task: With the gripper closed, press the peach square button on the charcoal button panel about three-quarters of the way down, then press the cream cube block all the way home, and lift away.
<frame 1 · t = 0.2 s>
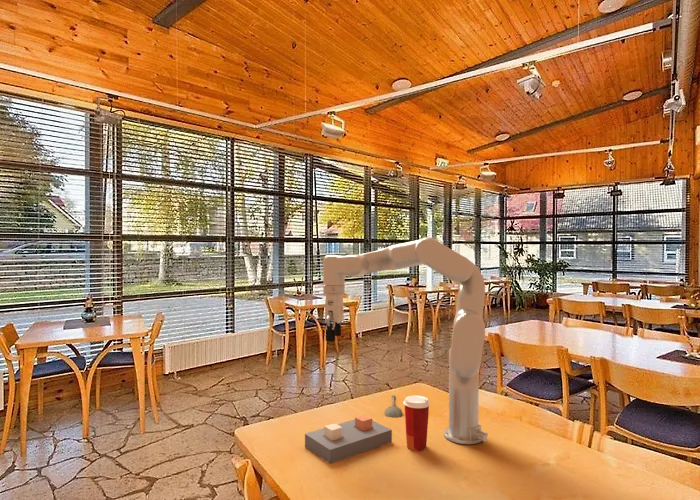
hand: (333, 338, 155), 31 cm above the table, tool pointing down, fingers open, 9 cm apart
button panel: (348, 444, 139), on the table
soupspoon: (393, 409, 173), on the table
peach square button: (363, 424, 143), point 5 cm above the table, slide at 0.0 cm
coffee cup: (416, 447, 138), on the table
cream cube block: (333, 433, 136), point 5 cm above the table, slide at 0.0 cm
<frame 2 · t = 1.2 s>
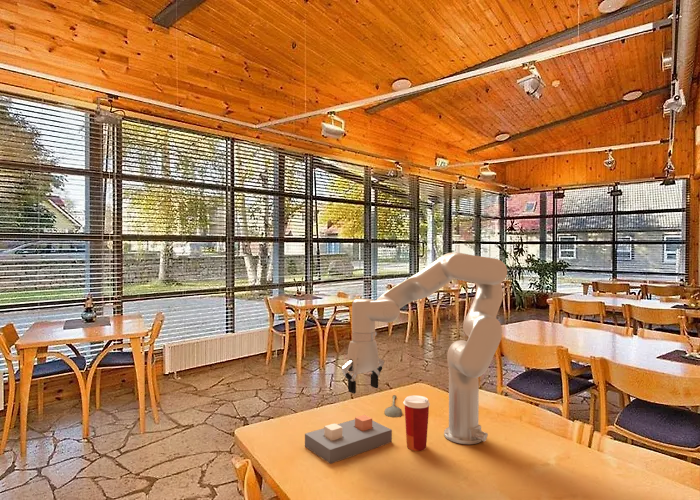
hand: (363, 389, 143), 16 cm above the table, tool pointing down, fingers open, 8 cm apart
nothing on the table moved.
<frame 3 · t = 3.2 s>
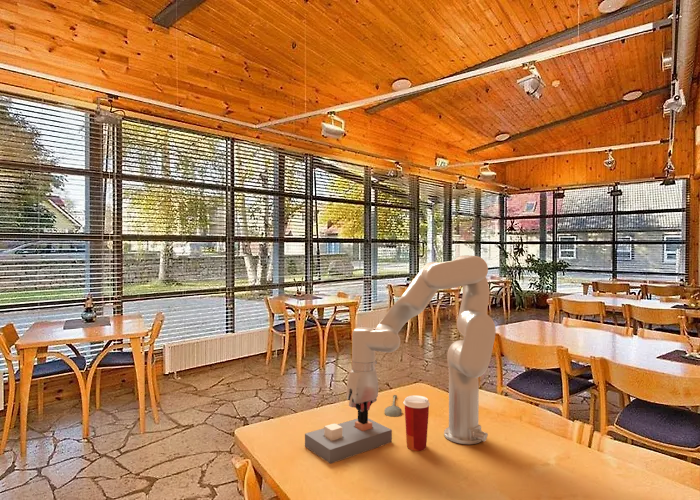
hand: (362, 422, 143), 6 cm above the table, tool pointing down, fingers closed
peach square button: (363, 428, 143), point 3 cm above the table, slide at 1.4 cm
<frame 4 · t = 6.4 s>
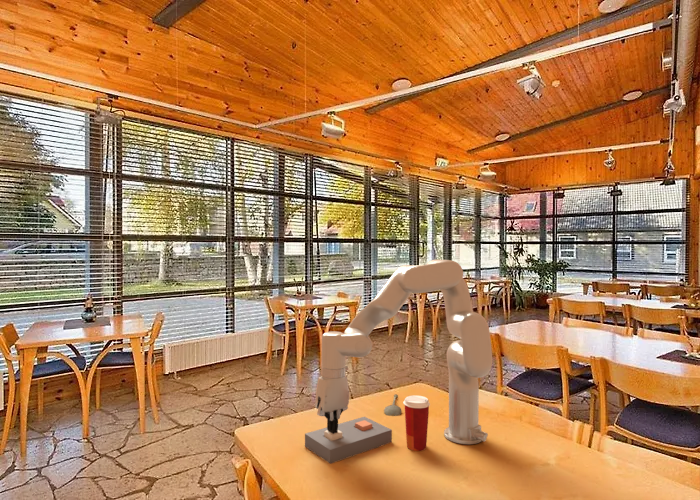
hand: (332, 431, 136), 6 cm above the table, tool pointing down, fingers closed
peach square button: (363, 429, 143), point 3 cm above the table, slide at 1.8 cm
cream cube block: (333, 438, 136), point 3 cm above the table, slide at 1.5 cm, touching gripper
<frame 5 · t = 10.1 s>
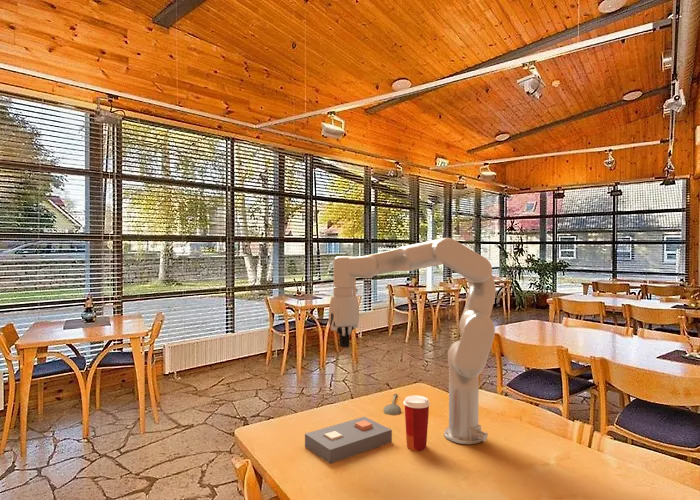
hand: (344, 346, 148), 29 cm above the table, tool pointing down, fingers closed
cream cube block: (333, 441, 136), point 2 cm above the table, slide at 2.4 cm
at the end: peach square button slide at 1.8 cm; cream cube block slide at 2.4 cm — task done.
